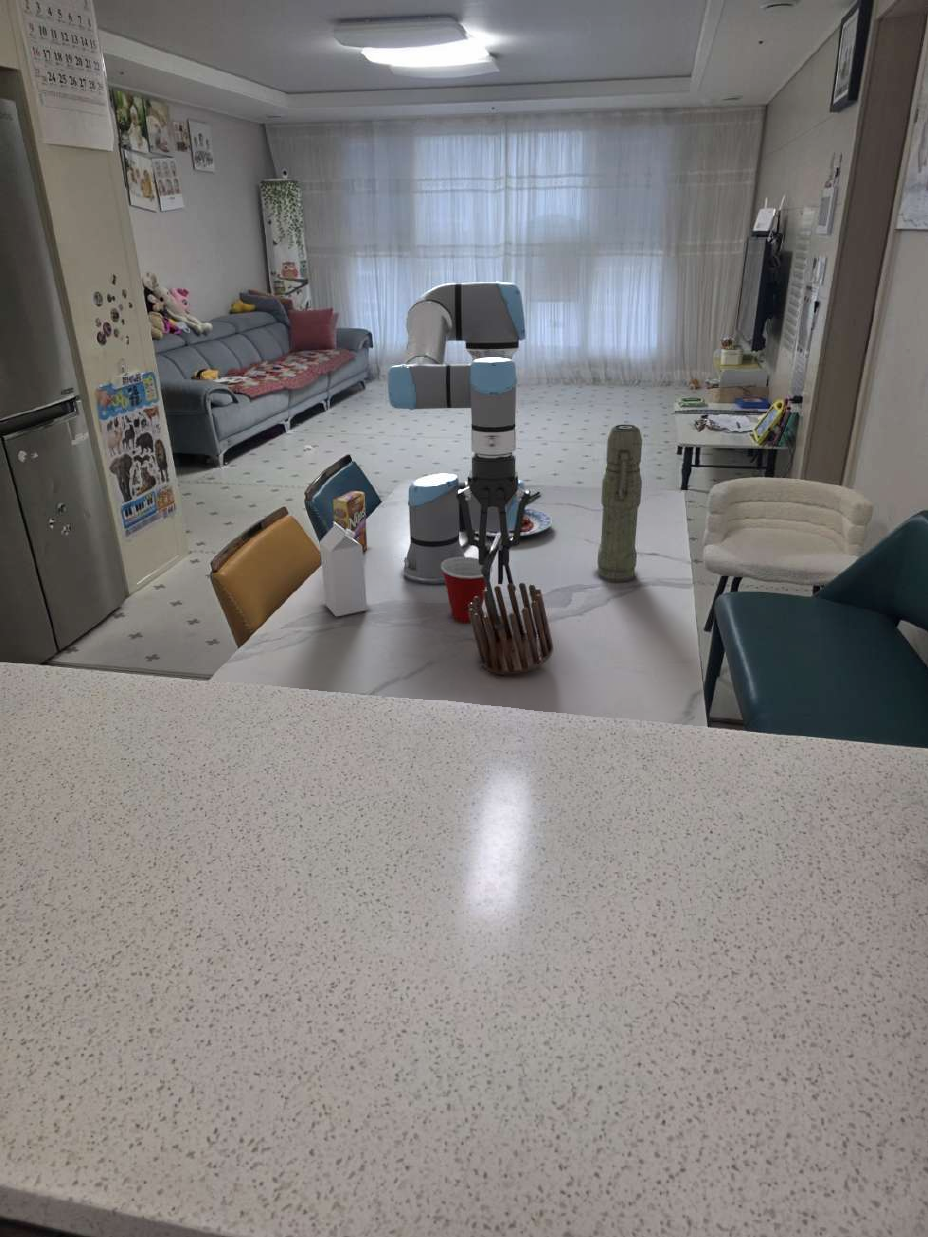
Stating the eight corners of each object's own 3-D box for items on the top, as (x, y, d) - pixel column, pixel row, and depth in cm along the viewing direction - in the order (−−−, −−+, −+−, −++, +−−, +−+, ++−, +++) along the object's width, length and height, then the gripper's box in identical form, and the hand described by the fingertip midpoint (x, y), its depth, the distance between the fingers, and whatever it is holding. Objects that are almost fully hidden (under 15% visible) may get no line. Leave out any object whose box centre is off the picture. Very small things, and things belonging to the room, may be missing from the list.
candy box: (350, 559, 208) (345, 501, 201) (336, 557, 209) (331, 499, 203) (368, 548, 215) (364, 491, 209) (354, 546, 217) (350, 490, 210)
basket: (463, 536, 155) (536, 525, 151) (490, 636, 165) (558, 629, 161) (444, 574, 142) (523, 564, 137) (474, 681, 151) (548, 674, 147)
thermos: (631, 565, 201) (641, 420, 186) (638, 584, 190) (650, 432, 175) (594, 565, 201) (602, 421, 186) (599, 584, 190) (608, 432, 176)
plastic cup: (488, 630, 170) (487, 575, 164) (436, 626, 172) (435, 572, 167) (496, 608, 179) (496, 556, 174) (448, 605, 181) (446, 554, 176)
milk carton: (336, 617, 176) (328, 533, 168) (325, 605, 182) (317, 524, 174) (367, 610, 179) (361, 527, 171) (355, 599, 185) (349, 518, 177)
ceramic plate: (568, 522, 231) (568, 511, 230) (524, 549, 212) (524, 538, 211) (489, 508, 244) (489, 499, 243) (441, 533, 225) (440, 523, 223)
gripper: (447, 458, 138) (451, 588, 148) (536, 458, 136) (533, 590, 146) (453, 448, 145) (456, 573, 155) (537, 448, 143) (535, 574, 153)
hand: (494, 581), depth 150 cm, fingers closed on basket, 2 cm apart
